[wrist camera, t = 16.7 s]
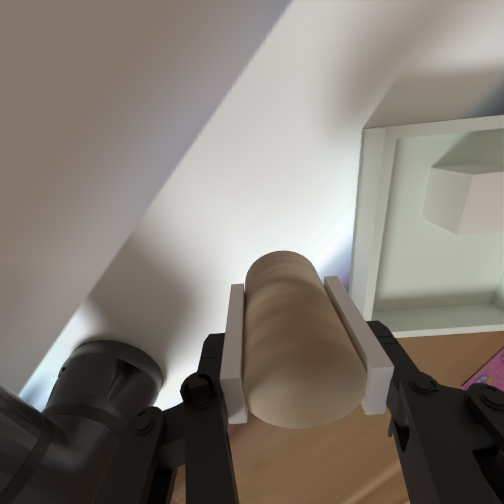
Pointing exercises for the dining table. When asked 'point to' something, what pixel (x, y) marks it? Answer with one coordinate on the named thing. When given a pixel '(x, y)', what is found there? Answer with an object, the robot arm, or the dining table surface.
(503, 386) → the box
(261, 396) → the beech cylinder
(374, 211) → the tote
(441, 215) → the grey cube
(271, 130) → the dining table surface
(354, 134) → the dining table surface
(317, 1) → the dining table surface
